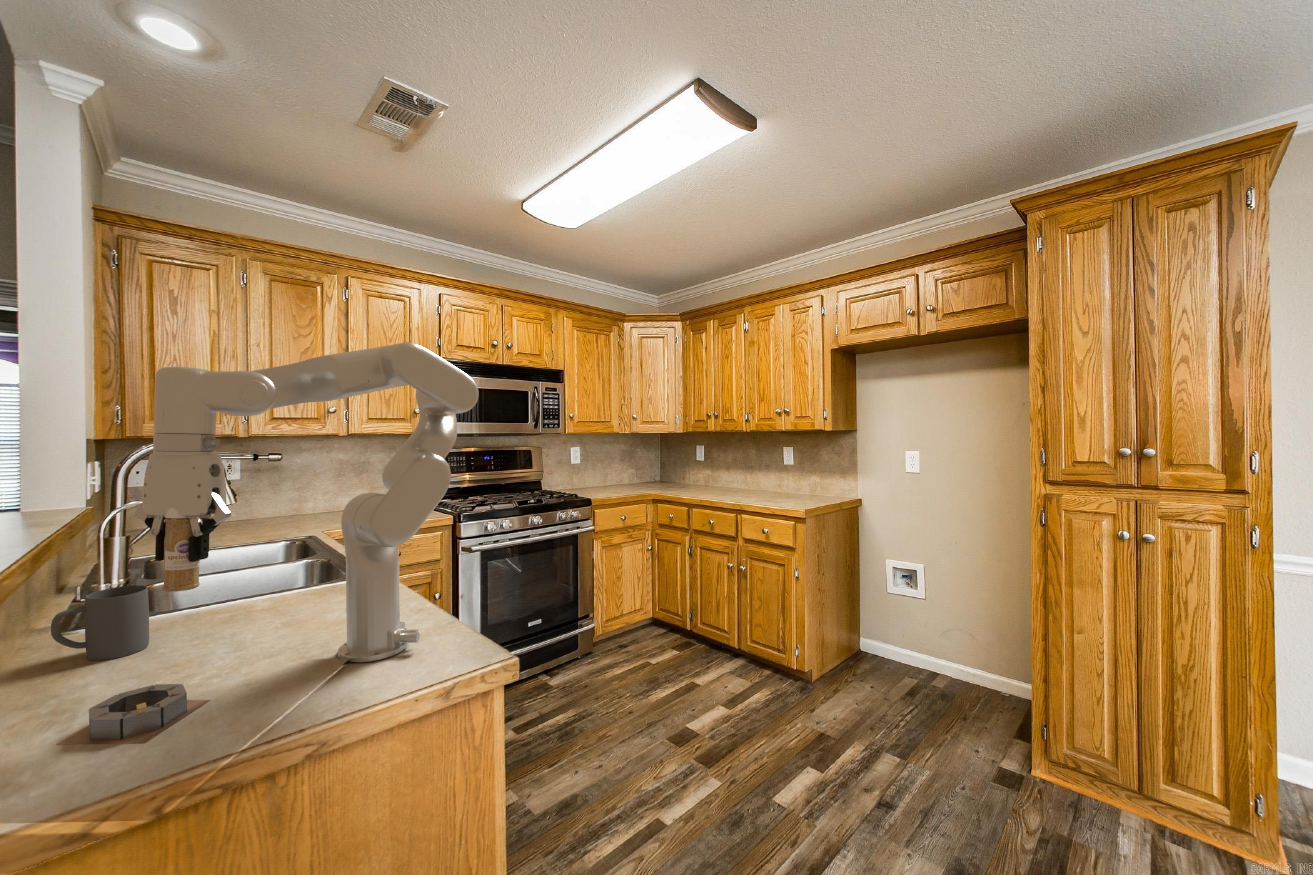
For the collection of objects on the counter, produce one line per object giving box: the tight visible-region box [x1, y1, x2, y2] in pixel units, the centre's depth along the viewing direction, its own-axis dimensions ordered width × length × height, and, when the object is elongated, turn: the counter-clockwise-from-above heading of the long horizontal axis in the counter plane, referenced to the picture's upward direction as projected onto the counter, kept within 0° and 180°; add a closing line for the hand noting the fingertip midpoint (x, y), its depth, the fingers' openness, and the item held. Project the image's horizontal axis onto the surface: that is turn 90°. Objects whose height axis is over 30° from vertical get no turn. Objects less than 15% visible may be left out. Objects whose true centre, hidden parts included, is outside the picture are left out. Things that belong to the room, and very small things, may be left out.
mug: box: [50, 584, 150, 661], centre depth 108 cm, size 14×9×12 cm
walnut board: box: [56, 699, 212, 746], centre depth 83 cm, size 12×12×1 cm
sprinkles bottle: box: [162, 508, 202, 593], centre depth 87 cm, size 5×5×14 cm
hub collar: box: [88, 683, 188, 741], centre depth 83 cm, size 10×10×4 cm
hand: (182, 558), depth 87 cm, fingers closed on sprinkles bottle, 4 cm apart
